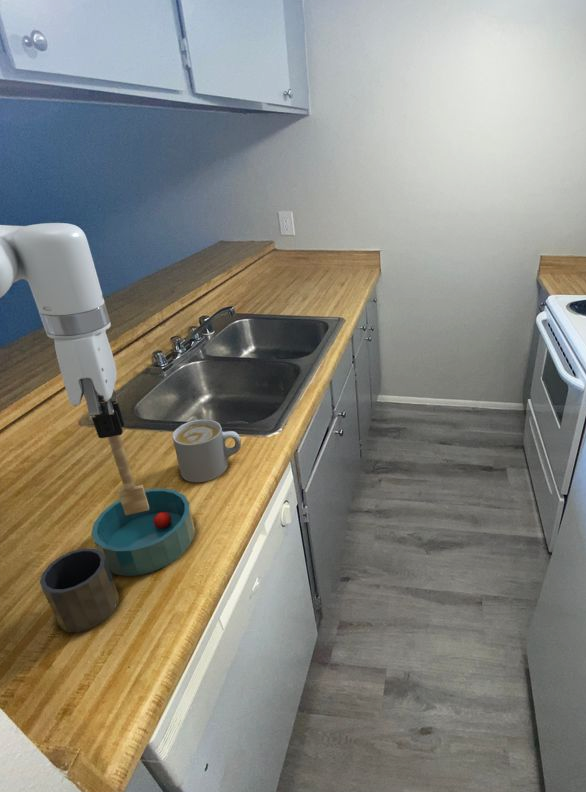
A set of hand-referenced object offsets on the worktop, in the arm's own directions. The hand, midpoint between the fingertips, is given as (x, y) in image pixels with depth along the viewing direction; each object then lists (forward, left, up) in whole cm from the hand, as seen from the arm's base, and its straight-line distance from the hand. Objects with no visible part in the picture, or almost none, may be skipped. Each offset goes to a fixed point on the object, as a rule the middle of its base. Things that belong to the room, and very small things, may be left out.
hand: (111, 430), depth 73 cm
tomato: (+2, +6, -25) cm, 26 cm away
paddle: (0, 0, -17) cm, 17 cm away
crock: (-8, -8, -27) cm, 29 cm away
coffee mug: (+12, +23, -27) cm, 37 cm away
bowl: (0, +4, -27) cm, 27 cm away
